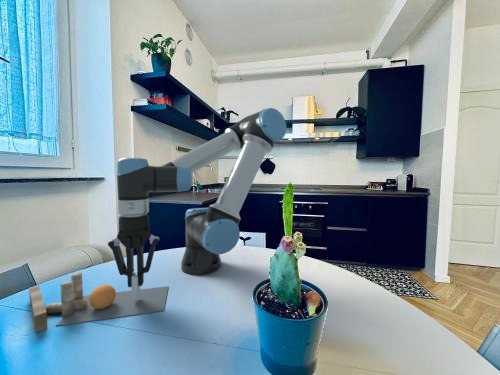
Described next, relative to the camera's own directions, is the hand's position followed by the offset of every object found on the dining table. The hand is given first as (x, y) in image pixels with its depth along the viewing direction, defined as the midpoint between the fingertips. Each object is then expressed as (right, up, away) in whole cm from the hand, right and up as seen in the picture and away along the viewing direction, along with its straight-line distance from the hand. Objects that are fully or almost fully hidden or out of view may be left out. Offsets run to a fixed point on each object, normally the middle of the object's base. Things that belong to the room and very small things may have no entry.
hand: (136, 296), depth 63 cm
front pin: (-12, 0, -3) cm, 13 cm away
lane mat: (-4, -1, -1) cm, 4 cm away
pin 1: (-14, -2, -6) cm, 16 cm away
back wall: (-22, -2, -6) cm, 23 cm away
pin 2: (-15, -1, -1) cm, 16 cm away
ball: (-7, +1, -3) cm, 8 cm away
